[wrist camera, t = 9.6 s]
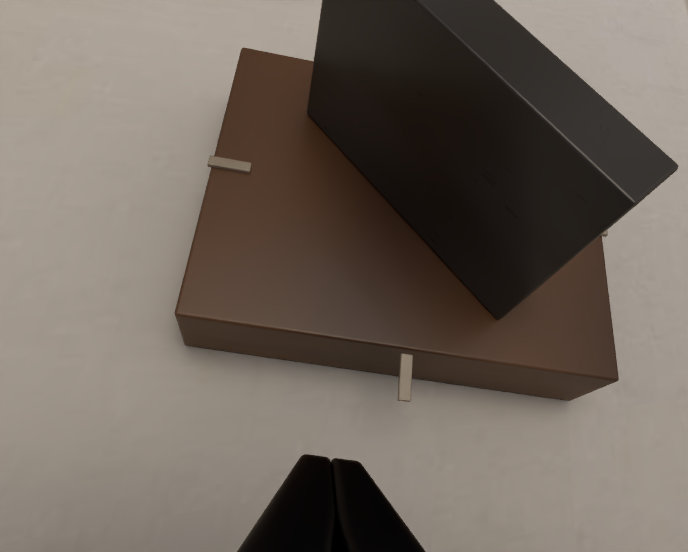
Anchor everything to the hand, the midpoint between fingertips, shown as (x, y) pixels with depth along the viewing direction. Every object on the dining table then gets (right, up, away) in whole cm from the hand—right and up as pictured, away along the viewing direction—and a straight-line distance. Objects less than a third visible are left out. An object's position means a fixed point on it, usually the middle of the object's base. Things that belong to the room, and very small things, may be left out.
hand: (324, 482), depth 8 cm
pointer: (+3, +6, +11) cm, 13 cm away
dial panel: (+2, +4, +14) cm, 15 cm away
